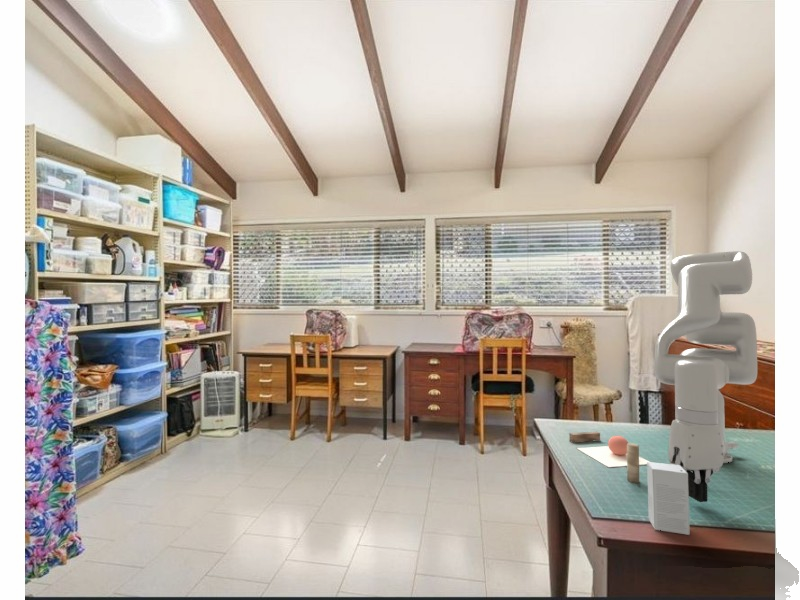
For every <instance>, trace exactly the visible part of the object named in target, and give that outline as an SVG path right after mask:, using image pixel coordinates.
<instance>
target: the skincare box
mask: <svg viewBox="0 0 800 600" xmlns="http://www.w3.org/2000/svg"><path fill="white" fill-rule="evenodd" d="M646 470H647V471H646V473H647V474H646V475H647V477H646V478H647V498H648V499H647V502H648V503H647V504H648V505H647V507H648V520H649V522H650V524H651V525H652V527H653V528H654V529H653V530H655V531H660V530H661V531H662V532H667V533H674V534H675V533H676V534H681V535H686V536H690V535H691V534H690V533H691V530H690V526H691V525H690V499H689V498H690V497H689V492H688V473H687V472H686V471H685V470H684V469H683V468H682V467H681V466H680V465H673V464H670V463H661V462H652V461H649V462H647V465H646Z"/></svg>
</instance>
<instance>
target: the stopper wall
mask: <svg viewBox="0 0 800 600" xmlns="http://www.w3.org/2000/svg"><path fill="white" fill-rule="evenodd" d="M593 440H600V441H601V432H599V431H587V432H586V431H585V432H583V431H582V432H569V442H571V443H572V442H574V443H582V442H581V441H589V442H594V441H593Z"/></svg>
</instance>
